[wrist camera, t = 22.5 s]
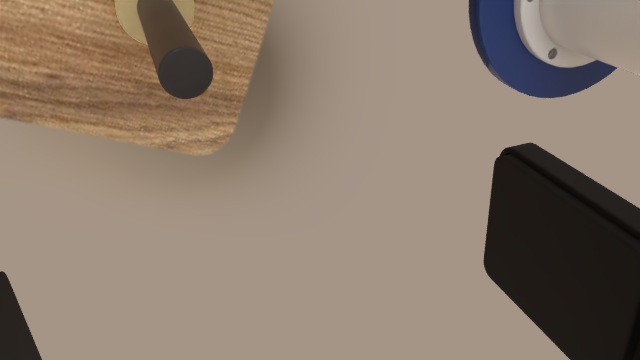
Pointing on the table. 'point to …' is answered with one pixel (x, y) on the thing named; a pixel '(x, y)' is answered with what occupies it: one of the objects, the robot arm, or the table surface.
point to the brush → (169, 43)
